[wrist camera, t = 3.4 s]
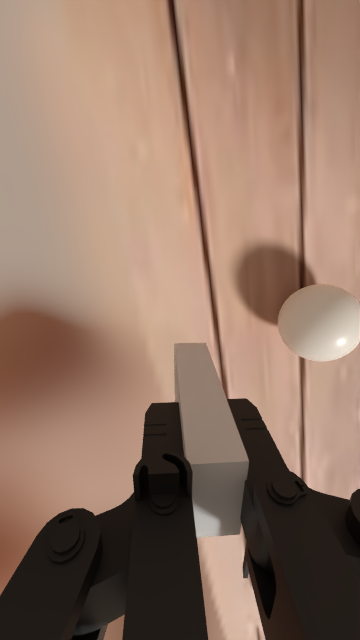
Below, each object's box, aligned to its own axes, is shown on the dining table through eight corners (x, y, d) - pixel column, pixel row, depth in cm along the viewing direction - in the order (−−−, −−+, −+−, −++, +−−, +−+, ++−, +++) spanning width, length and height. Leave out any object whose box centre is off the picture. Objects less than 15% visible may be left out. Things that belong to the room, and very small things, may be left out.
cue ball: (339, 276, 21) (398, 295, 15) (326, 340, 22) (373, 375, 17) (271, 277, 20) (307, 296, 15) (263, 341, 22) (292, 377, 17)
